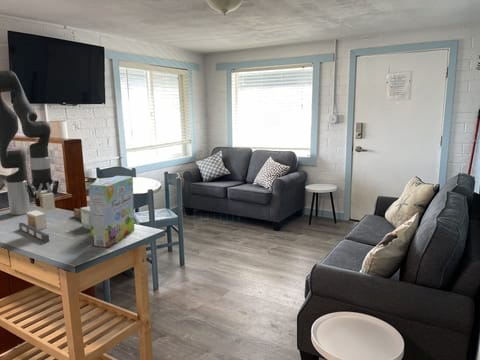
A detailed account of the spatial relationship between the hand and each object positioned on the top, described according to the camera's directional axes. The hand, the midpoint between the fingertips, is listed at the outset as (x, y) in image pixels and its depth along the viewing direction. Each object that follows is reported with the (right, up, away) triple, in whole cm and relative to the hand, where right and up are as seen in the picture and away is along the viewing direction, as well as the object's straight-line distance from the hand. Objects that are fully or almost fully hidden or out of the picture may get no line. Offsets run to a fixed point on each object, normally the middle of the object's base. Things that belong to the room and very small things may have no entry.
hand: (44, 205), depth 161 cm
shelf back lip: (+12, -9, +18) cm, 24 cm away
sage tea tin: (+17, -11, +10) cm, 22 cm away
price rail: (-4, -13, -2) cm, 14 cm away
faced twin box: (-8, -11, +9) cm, 16 cm away
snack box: (+33, -14, -5) cm, 36 cm away
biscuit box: (0, -1, 0) cm, 1 cm away
